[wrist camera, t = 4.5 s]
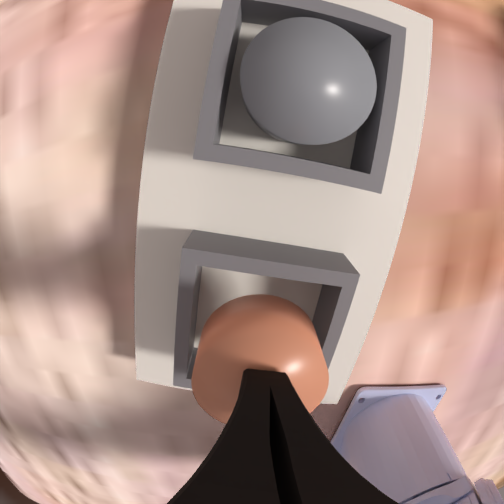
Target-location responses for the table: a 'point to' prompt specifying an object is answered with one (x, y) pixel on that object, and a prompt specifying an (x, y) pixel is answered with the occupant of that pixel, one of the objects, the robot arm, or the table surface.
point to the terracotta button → (257, 352)
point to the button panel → (270, 186)
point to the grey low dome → (307, 81)
